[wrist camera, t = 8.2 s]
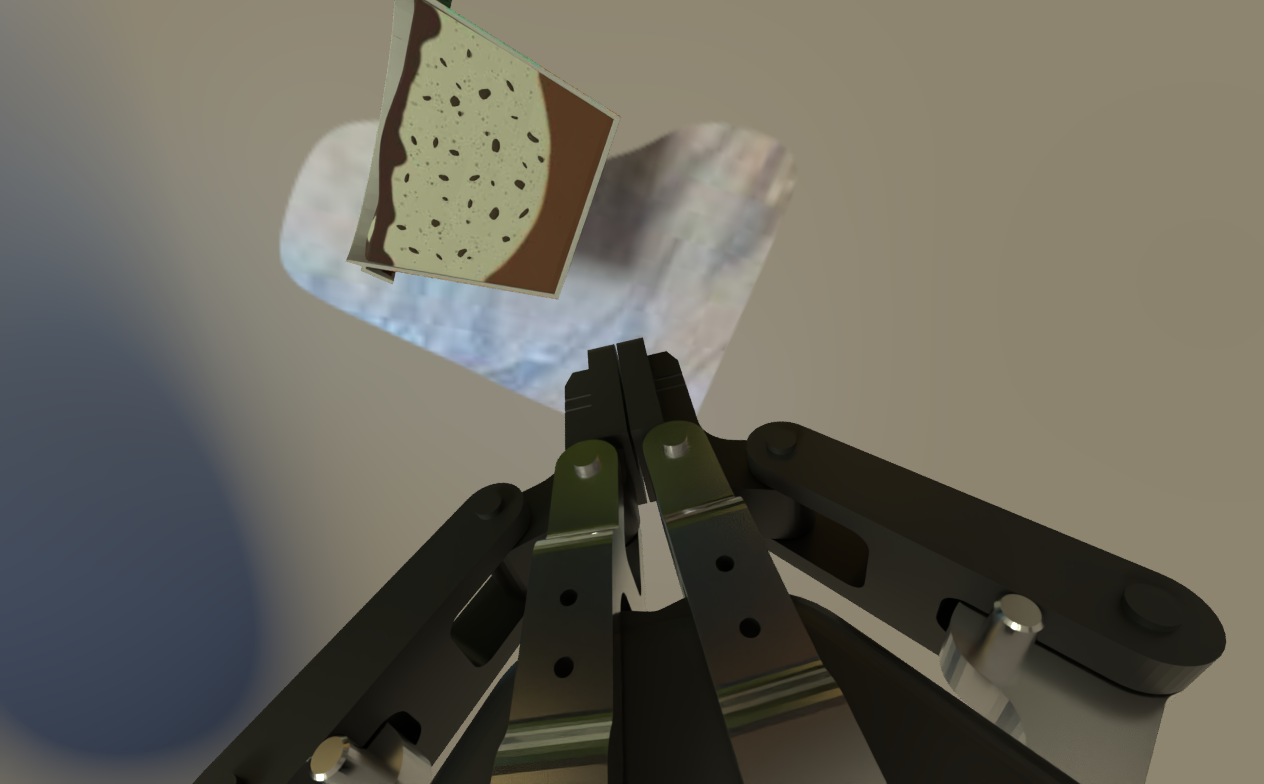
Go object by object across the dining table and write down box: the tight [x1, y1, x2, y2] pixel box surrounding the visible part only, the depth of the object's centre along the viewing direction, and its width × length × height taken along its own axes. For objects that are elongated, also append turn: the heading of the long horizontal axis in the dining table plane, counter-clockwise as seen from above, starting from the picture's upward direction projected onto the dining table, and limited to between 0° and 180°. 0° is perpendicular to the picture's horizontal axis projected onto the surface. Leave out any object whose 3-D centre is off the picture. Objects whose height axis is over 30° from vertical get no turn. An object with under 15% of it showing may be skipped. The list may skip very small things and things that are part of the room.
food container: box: [346, 0, 621, 299], centre depth 26 cm, size 12×6×10 cm
